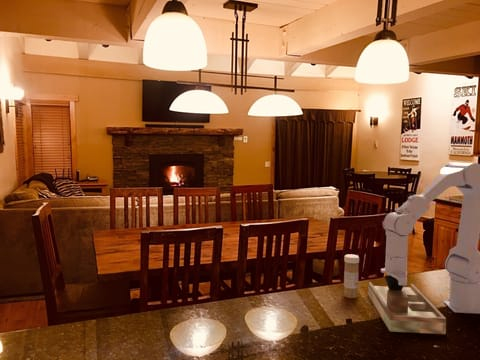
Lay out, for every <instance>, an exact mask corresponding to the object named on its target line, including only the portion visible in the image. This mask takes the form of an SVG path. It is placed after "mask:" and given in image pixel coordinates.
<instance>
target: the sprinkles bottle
mask: <svg viewBox="0 0 480 360" xmlns="http://www.w3.org/2000/svg"><path fill="white" fill-rule="evenodd" d="M343 258H344V259H343V260H344V274H343V275H344V276H343V286H344V287H343V296H344V297H345V298H347V299H356V298H358V297H359V292H358V288H359V263H360V257H359V255H357V254H354V253H353V254H352V253H351V254H348V253H347V254H345V255H344V257H343Z"/></svg>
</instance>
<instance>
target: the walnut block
mask: <svg viewBox="0 0 480 360" xmlns="http://www.w3.org/2000/svg"><path fill="white" fill-rule="evenodd" d="M408 298H409V297H408V296H407V295H406V293H405V292H404V291H401V290H387V306H388V308H389V310H390V312H397V313H408Z"/></svg>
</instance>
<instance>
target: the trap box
mask: <svg viewBox="0 0 480 360" xmlns="http://www.w3.org/2000/svg"><path fill="white" fill-rule="evenodd" d="M409 286H410V287H406V286H403V288H402V291H404V292H405V293H406V295H407V296H408V297H409V298H408V313H397V312H390V310H389V308H388V306H387V290H389V289H388V285H386V286H384V285H383V286H382V285H374V284H373V283H372V282H371V281H368V293H367V295H368V297H369V298H370V300H371V302H372V304H373V305H374V307H375V309H376V311H377V312H378V314H379V315H380V317H381V319H382V321H383V322H384V324H385V326H386V328H387V329H388V331H389V332H392V333H393V332H397V333H414V334H415V333H417V334H431V335H432V334H433V335H434V334H435V335H446V332H447V331H446V330H447V318H446V317H445V316H444V315H443V313H441V312H440V310H438V308H437V307H436V306H435V305H434V304H433V303H432V302H431V301H430V300H429V299H428V298H427V296H425V295H424V294H423V293H422V292H421V291H420V289H419V288H418V287H417V286H416V285H415V284H414V283H410V285H409Z"/></svg>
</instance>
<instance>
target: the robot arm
mask: <svg viewBox="0 0 480 360" xmlns="http://www.w3.org/2000/svg"><path fill="white" fill-rule="evenodd" d="M450 187H451V188H453V187H455V188H457V189H458V190H459V191H460V192H461V193H462V194H463V198H462V205H461V212H460V217H459V224H458V225H459V226H458V232H457V239H456V245H455V246H453V247H452V248H451V249H449V251H448V252H449V253H448V256H447V258H446V259H445V262H444V267H445V270H446V272H448V276H449V277H450V279H449V282H450V283H449V298H448V300H443V303H444V304H445V305H446V306H448V308H449V309H451V311H453V312H454V313H462V314H463V313H464V314H479V315H480V250H478V247H479V241H480V163H477V162H471V163H470V162H455V161H449V162H448V163H446V164H444V166H443V167H441V169H440V170H439V174H437V176H436V177H435V178H434V180H432V181H431V182H430V183H429V184H428V185H427V186H426V188H425V189H424V190H423V191H421V193H420V194H412V195H410V196H408V197H407V200H406V201H405V202H403V204H402V205H401V206H399V207H397V208H396V209H395V212H389V213H388V214H386V216H385V217H384V219H383V221H382V227H383V228H384V230H385V236H386V241H385V244H386V245H385V263H384V265H385V267H384V268H380V272H381V273H382V274H386V275H384V276H383V277H384V280H385V282H386V286H387V287H388V289H389V290H401V291H402V288H403V287H406V286H408V278H407V276H408V270H407V269H408V268H407V267H408V250H409V249H408V247H409V234H411V233H412V232H413V230H414V227H415V225H416V224H417V221H418V220H419V219H420V218H421V217H423V216H424V215H425V214H426V212H428V211H429V210H430V203H431V202H433V201H434V200H436V199H437V198H438V197H439V196H441V194H443V193H444V192H445V191H446V190H448V189H449V188H450Z"/></svg>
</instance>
